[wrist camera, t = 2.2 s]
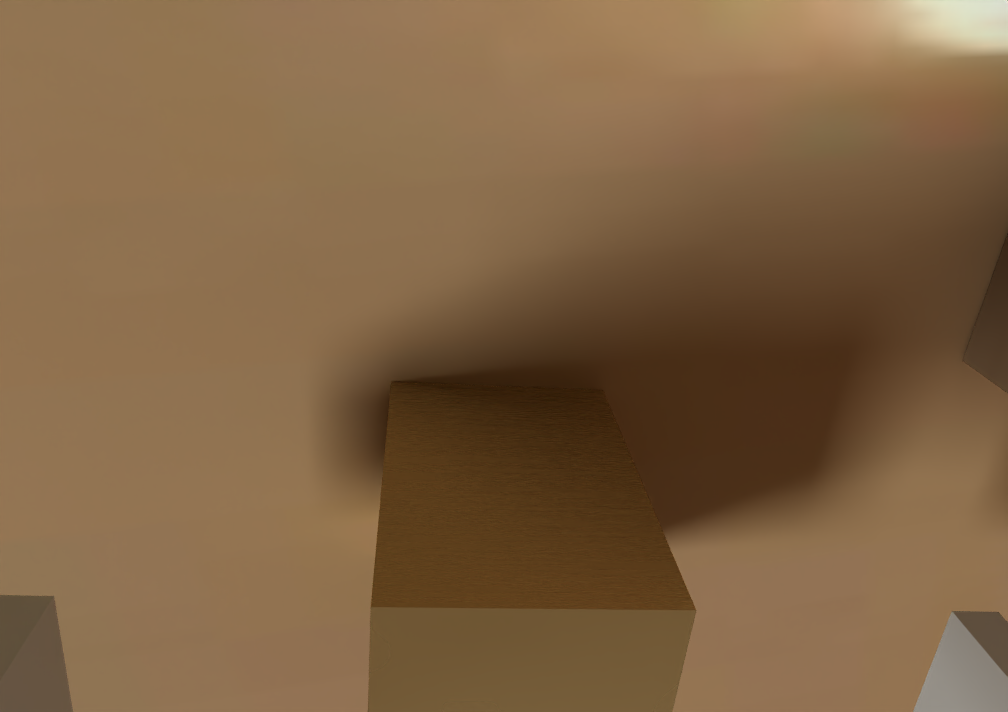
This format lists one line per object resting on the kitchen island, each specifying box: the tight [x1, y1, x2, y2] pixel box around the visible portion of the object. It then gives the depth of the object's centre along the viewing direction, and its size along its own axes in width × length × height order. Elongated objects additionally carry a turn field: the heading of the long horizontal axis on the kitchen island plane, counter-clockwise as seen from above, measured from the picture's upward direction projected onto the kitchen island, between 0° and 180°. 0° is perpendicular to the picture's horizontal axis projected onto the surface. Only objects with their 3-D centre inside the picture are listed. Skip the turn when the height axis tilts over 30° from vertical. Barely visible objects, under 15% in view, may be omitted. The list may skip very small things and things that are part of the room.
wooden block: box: [368, 382, 696, 712], centre depth 13 cm, size 4×4×6 cm
